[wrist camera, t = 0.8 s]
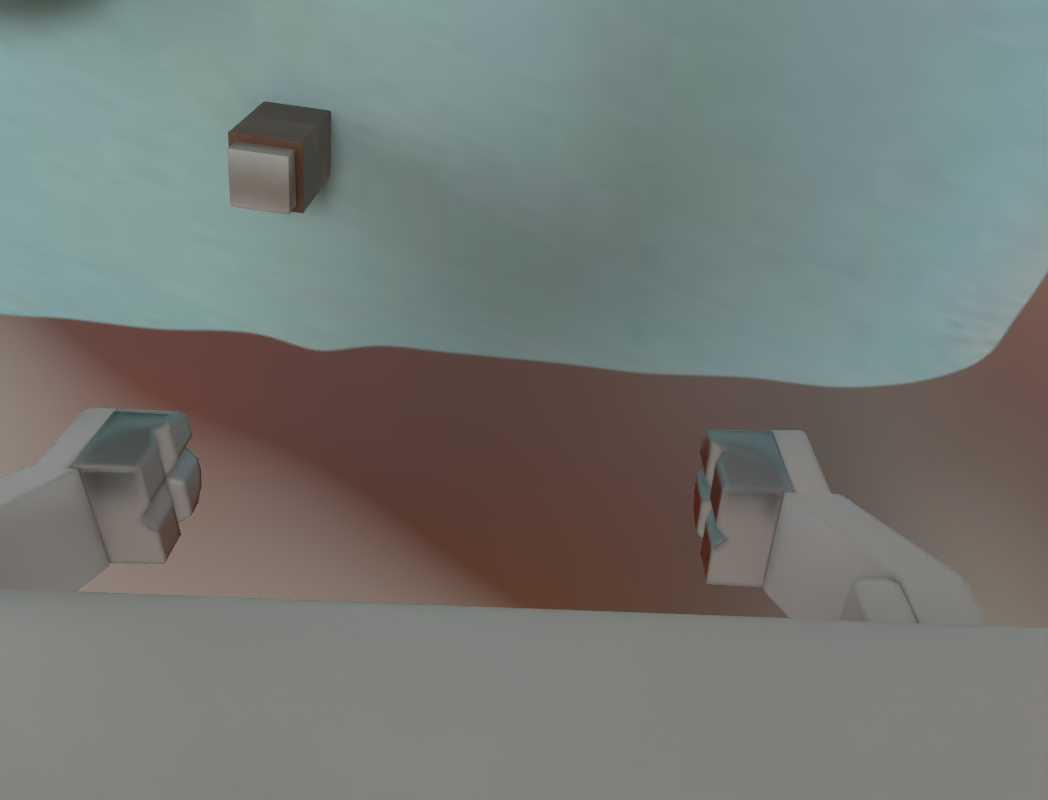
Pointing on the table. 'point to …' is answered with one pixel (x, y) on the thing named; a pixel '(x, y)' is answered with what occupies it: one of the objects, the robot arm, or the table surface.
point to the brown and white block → (279, 158)
